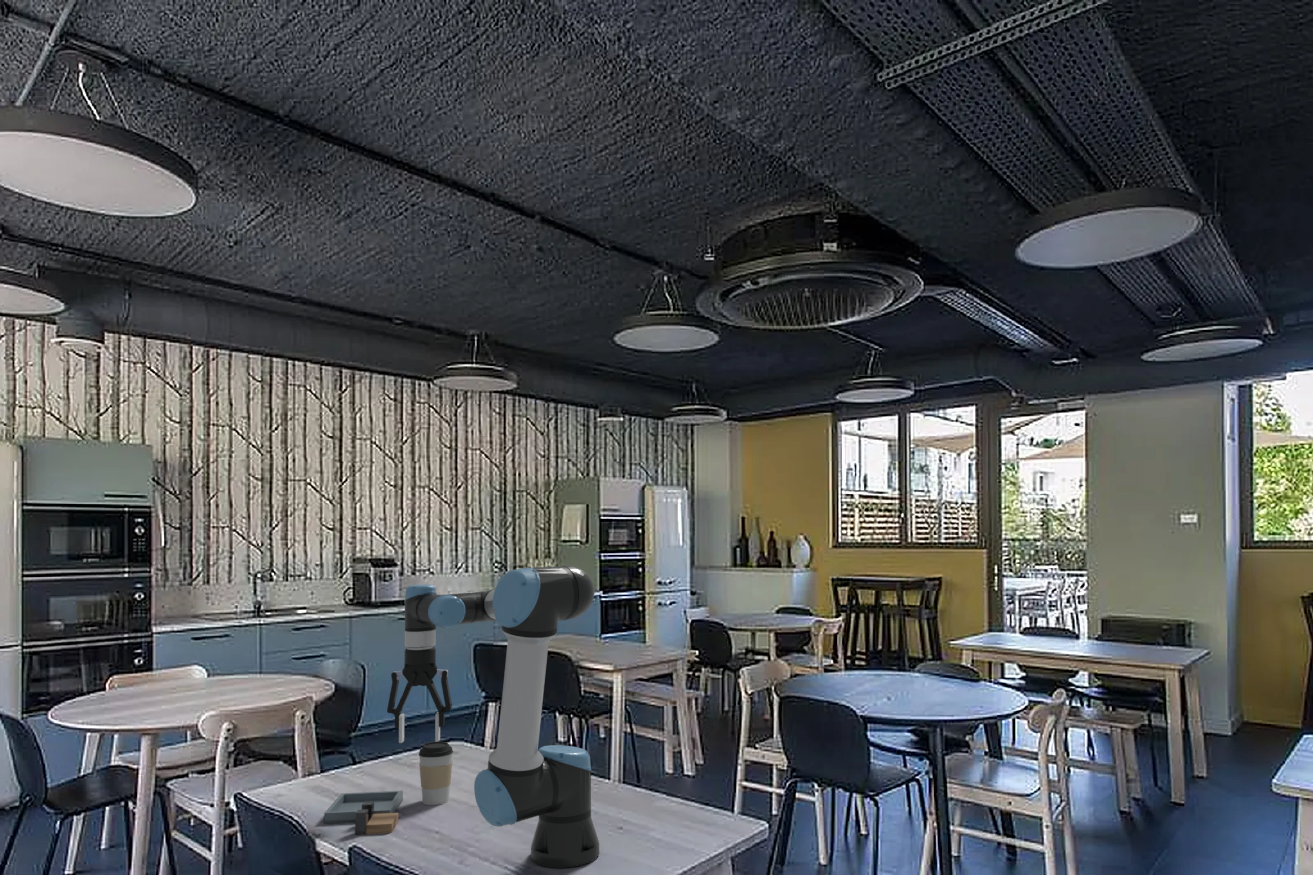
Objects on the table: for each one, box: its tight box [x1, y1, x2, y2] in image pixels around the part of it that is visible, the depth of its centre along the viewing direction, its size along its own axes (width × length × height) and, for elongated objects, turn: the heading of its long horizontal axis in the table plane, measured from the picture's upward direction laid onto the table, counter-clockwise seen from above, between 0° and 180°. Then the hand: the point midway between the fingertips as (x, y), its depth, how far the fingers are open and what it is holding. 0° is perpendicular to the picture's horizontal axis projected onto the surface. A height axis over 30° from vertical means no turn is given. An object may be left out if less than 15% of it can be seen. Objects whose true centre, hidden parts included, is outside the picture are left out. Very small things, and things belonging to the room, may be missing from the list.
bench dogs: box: [354, 802, 374, 836], centre depth 214 cm, size 8×2×5 cm, turn 5°
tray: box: [323, 790, 404, 825], centre depth 227 cm, size 16×16×2 cm
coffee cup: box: [418, 741, 454, 806], centre depth 235 cm, size 9×9×15 cm
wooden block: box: [365, 812, 399, 835], centre depth 215 cm, size 8×6×2 cm
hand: (419, 740), depth 217 cm, fingers open, 8 cm apart
